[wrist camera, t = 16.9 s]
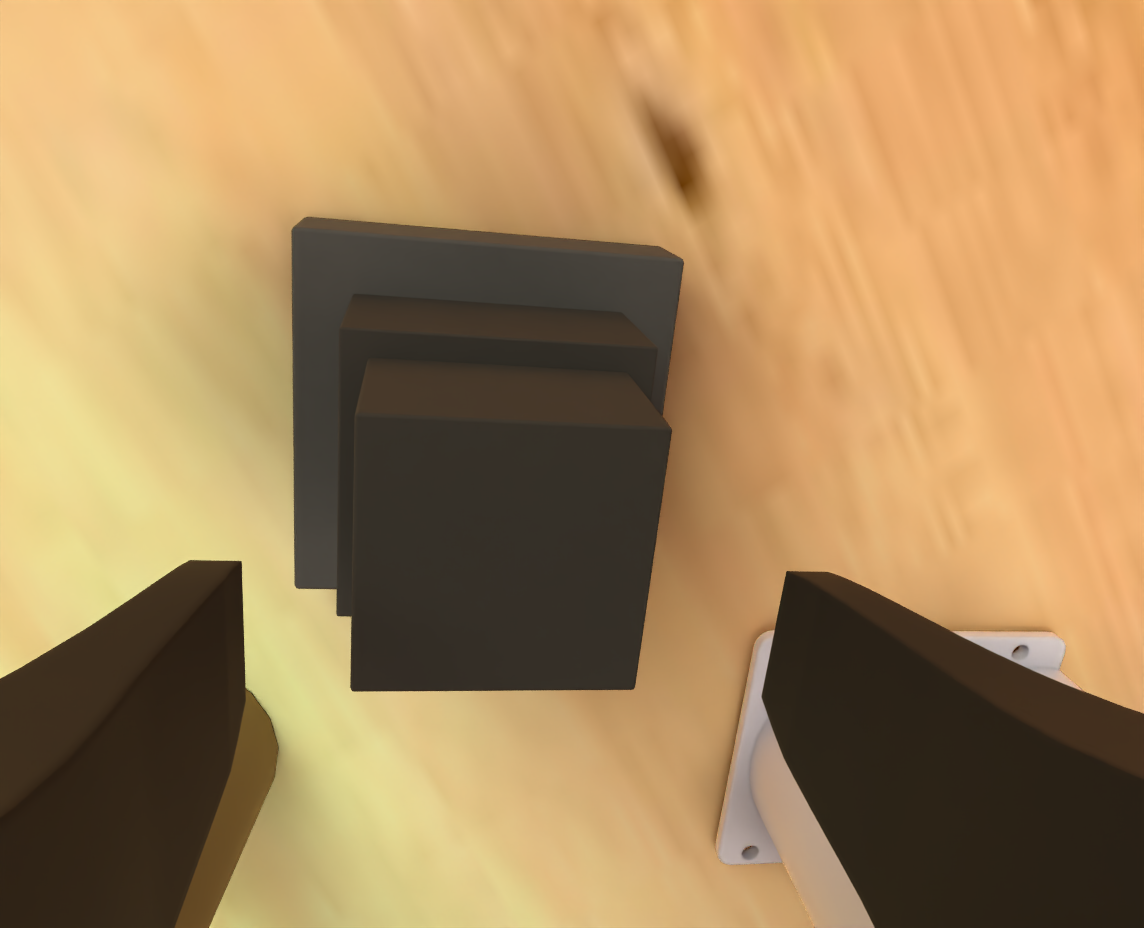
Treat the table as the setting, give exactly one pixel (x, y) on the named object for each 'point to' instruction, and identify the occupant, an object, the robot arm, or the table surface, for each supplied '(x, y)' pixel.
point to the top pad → (502, 527)
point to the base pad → (445, 272)
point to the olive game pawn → (233, 816)
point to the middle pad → (468, 339)
